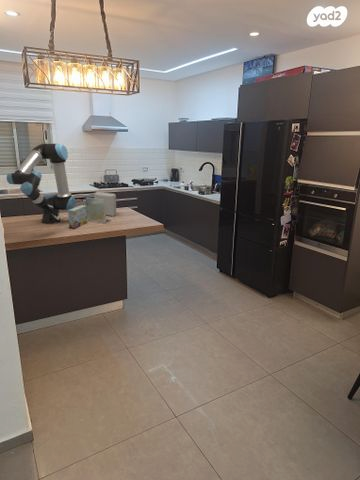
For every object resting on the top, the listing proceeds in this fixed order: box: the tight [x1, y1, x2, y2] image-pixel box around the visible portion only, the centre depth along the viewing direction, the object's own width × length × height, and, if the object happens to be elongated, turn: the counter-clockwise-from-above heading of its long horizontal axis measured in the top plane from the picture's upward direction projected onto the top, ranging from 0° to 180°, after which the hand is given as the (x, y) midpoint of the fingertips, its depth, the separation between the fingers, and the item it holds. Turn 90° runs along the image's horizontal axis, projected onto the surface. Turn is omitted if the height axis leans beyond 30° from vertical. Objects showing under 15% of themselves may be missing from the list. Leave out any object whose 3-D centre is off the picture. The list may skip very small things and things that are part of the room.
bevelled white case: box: [93, 191, 117, 217], centre depth 303 cm, size 21×8×20 cm, turn 65°
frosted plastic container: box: [85, 197, 111, 224], centre depth 281 cm, size 18×9×20 cm, turn 66°
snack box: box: [67, 204, 88, 230], centre depth 266 cm, size 21×6×15 cm, turn 168°
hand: (58, 218), depth 246 cm, fingers closed
